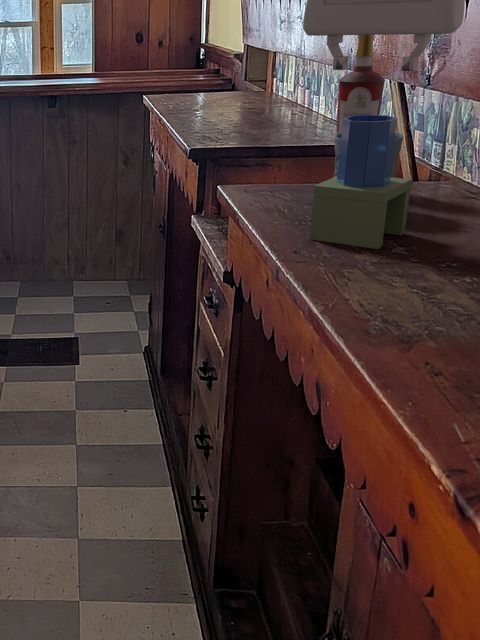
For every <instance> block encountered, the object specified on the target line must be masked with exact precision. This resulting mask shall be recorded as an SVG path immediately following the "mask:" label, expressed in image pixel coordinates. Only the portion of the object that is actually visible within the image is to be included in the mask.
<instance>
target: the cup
mask: <svg viewBox="0 0 480 640" xmlns="http://www.w3.org/2000/svg"><path fill="white" fill-rule="evenodd" d="M397 126H398V117H396V116H392V115H387V114H384V115H383V114H380V115H357V116H349V117H346V118H343V124H342V134H341V145H340V155H339V166H338V176H337V182H338V183H340V184H342V185H344V186H352V187H362V188H363V187H364V188H365V187H380V186H384V185H386V184H388V183H390V177H391V168H392V160H393V152H394V143H395V135H396V132H397Z"/></svg>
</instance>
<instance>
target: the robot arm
mask: <svg viewBox="0 0 480 640" xmlns="http://www.w3.org/2000/svg"><path fill="white" fill-rule="evenodd" d="M465 1H466V0H306V4H305V9H304V14H303V21H302V29H303V32H305V35H307V36H311V37H314V36H317V37H318V36H326V46H327V48H328V50H329V52H330V55H331V56H332V58H333V59H332V70H333V71H345V70H347V69H348V67H349V63H348V62H349V61H350V60H349V59H350V56H349V55H344V54H343V51H342V48H341V46H340V44H342V43H343V42H344V36H358V35H375V36H386V35H387V36H389V35H390V36H391V35H392V36H393V35H394V36H395V35H397V36H398V35H399V36H400V35H413V42H412V43H413V44H417V45H416V46H415V47H414V49H413V51H412V52H411V54H410V55H406V56H403V57H402V65H401V71H402V72H415V71H417V70H418V67H419V62H420V61H419V60H420V57H421V56H422V54H423V53H424V51H425V50H426V49H427V47H428V46H429V44H430V43H431V37H432V35H446V34H448V35H449V34H453V33H455V32H456V31H458V29H459V28H460V27H461V26H462V25H463V21H464V15H465Z"/></svg>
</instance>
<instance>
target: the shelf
mask: <svg viewBox="0 0 480 640" xmlns="http://www.w3.org/2000/svg"><path fill="white" fill-rule="evenodd" d="M333 177H334V176H333ZM333 177H332V178H328V179H327V180H325V181H322V182H320V183H317V184H315V185H314V187H313V197H312V198H313V199H312V210H311V222H310V233H309V240H311V241H319V242H324V243H325V242H326V243H333V244H338V245H346V246H352V247H353V246H354V247H360V248H367V249H373V250H380V249H381V248H382V247H383V243H384V235H385V234H386V235H394V236H395V235H396V236H403V235H404V234H405V233H406V225H407V219H408V218H407V217H408V210H409V204H410V203H409V201H410V196H411V195H410V194H411V186H412V179H411V178H399V177H395V178H391V177H390V183H388V184H386V185H384V186H380V187H365V188H364V187H363V188H362V187H352V186H344V185H342V184H340V183H338V182H337V176H336V177H334V178H333Z"/></svg>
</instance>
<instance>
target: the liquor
mask: <svg viewBox="0 0 480 640" xmlns="http://www.w3.org/2000/svg"><path fill="white" fill-rule="evenodd" d="M357 36H358V44H357V50H356V55H355V59H354V66H353V70H352V71H351V72H348V73H346V74H344V75H343V76H342V77H341V78H340V79H339V80H338V93H337V94H338V98H337V111H336V112H337V113H336V115H337V116H336V134H338V133H342V124H343V118H346V117H349V116H357V115H381V109H382V101H383V95H384V88H385V83H386V79H385V78H384V76H382V75H381V74H380V73H379V72H376V71H373V61H374V60H373V59H374V58H373V55H374V53H373V52H374V39H375V36H376V35H357ZM334 177H335V176H334V175H333V177H332V178H334Z"/></svg>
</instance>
